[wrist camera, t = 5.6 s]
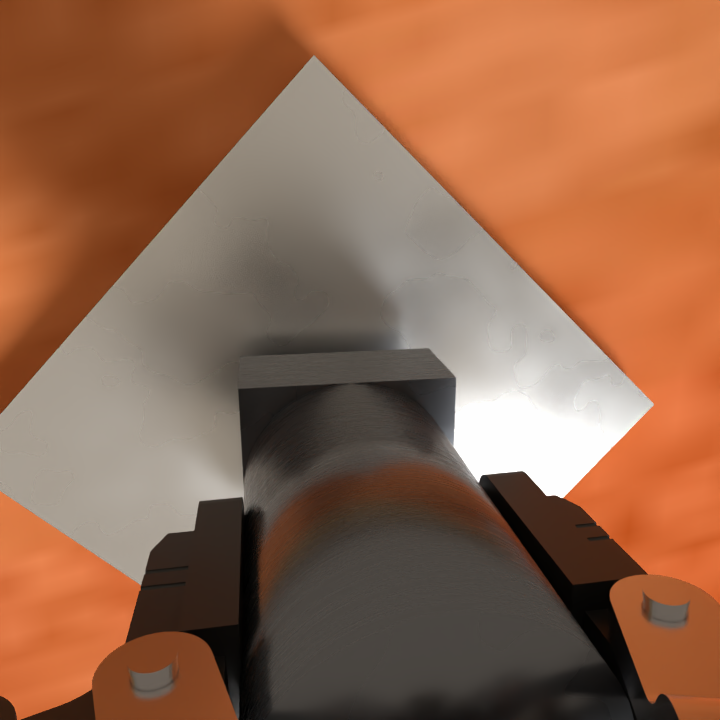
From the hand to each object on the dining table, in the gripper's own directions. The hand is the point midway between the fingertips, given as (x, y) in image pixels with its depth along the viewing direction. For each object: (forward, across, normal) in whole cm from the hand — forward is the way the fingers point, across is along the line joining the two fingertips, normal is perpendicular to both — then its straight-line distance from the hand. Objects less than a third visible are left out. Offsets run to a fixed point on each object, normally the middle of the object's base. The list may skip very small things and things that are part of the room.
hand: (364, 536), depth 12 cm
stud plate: (+6, 0, 0) cm, 6 cm away
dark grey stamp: (+4, 0, 0) cm, 4 cm away
